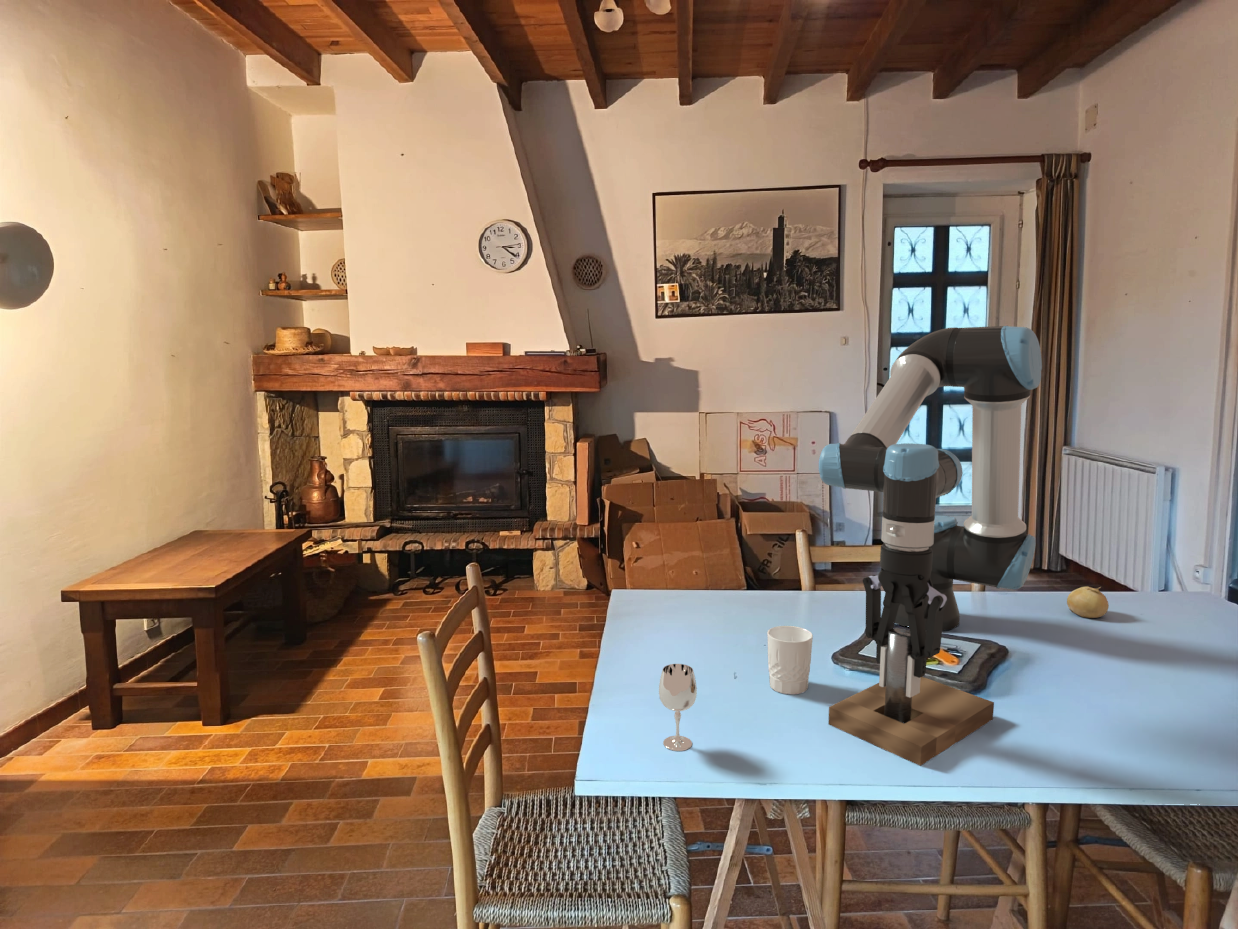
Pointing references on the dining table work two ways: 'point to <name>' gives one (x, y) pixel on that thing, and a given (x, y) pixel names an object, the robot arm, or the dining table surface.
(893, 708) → the peg
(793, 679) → the white cup
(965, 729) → the socket board
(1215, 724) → the dining table surface
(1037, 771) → the dining table surface
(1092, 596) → the onion
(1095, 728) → the dining table surface
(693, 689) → the wineglass
